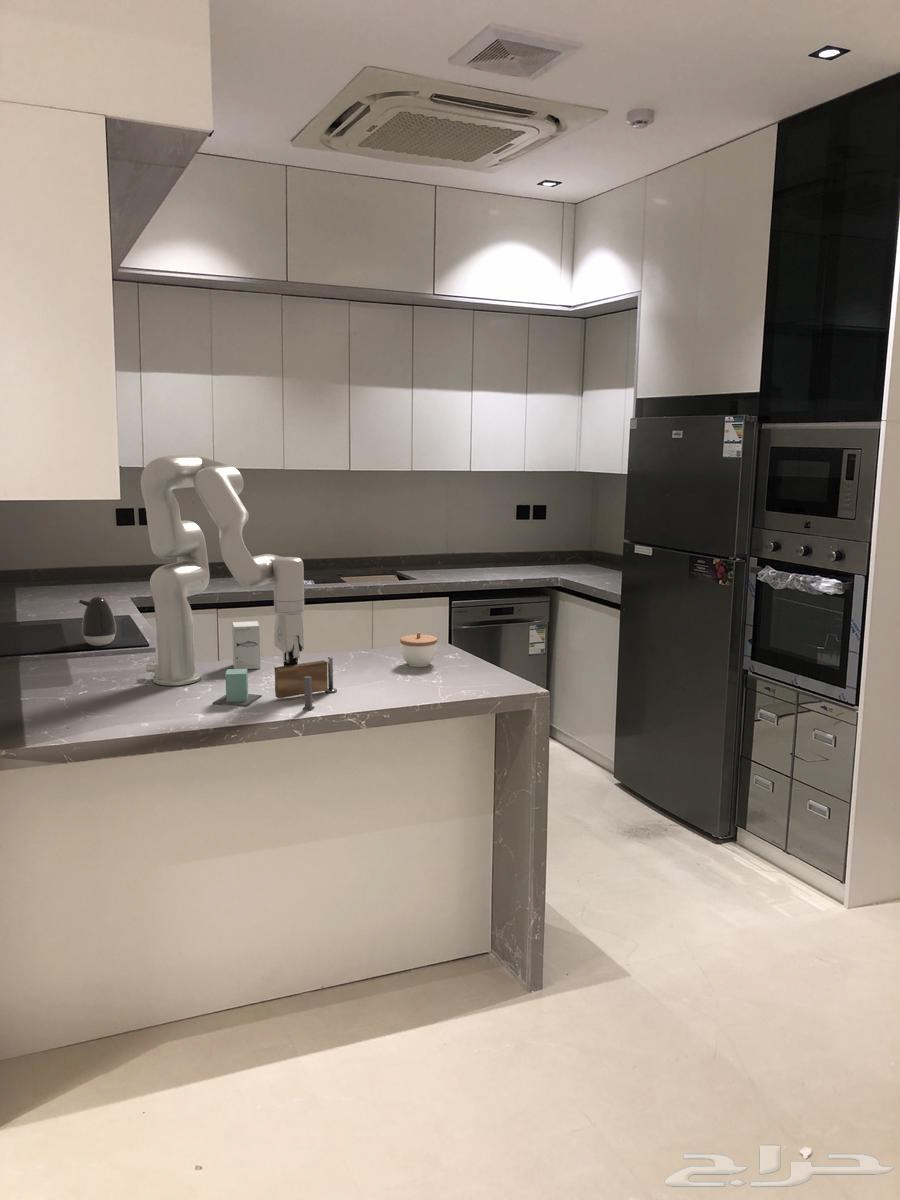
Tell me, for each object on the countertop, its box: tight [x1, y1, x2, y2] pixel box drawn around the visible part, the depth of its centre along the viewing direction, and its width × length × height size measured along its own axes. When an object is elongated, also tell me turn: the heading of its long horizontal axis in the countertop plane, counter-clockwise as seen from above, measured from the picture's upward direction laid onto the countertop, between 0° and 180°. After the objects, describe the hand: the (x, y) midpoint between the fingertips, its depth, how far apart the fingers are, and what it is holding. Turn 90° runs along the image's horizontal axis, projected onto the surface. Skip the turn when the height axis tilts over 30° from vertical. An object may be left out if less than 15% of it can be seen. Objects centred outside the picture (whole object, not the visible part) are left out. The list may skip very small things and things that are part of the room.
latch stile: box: [302, 676, 315, 711], centre depth 231 cm, size 2×2×8 cm
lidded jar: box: [399, 632, 438, 668], centre depth 275 cm, size 11×11×9 cm
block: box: [224, 668, 249, 702], centre depth 238 cm, size 5×5×7 cm
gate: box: [274, 659, 328, 699], centre depth 242 cm, size 2×14×8 cm, turn 124°
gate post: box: [324, 656, 338, 694], centre depth 246 cm, size 3×3×9 cm
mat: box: [212, 693, 263, 707], centre depth 239 cm, size 9×9×1 cm
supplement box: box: [231, 620, 261, 670], centre depth 271 cm, size 7×7×13 cm
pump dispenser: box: [79, 596, 117, 647], centre depth 299 cm, size 10×10×15 cm
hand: (290, 676), depth 244 cm, fingers closed
